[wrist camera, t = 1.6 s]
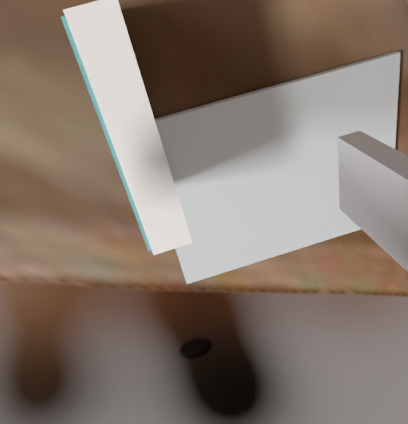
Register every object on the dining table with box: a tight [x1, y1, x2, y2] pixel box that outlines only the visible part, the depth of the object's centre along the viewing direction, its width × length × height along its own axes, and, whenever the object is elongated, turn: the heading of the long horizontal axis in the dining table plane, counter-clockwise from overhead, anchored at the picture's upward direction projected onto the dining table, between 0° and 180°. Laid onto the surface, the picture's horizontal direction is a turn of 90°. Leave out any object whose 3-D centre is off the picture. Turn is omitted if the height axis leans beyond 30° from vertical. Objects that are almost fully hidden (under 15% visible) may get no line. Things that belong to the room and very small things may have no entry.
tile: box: [61, 0, 193, 255], centre depth 22 cm, size 12×2×9 cm, turn 13°
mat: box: [155, 51, 401, 284], centre depth 31 cm, size 15×20×1 cm
